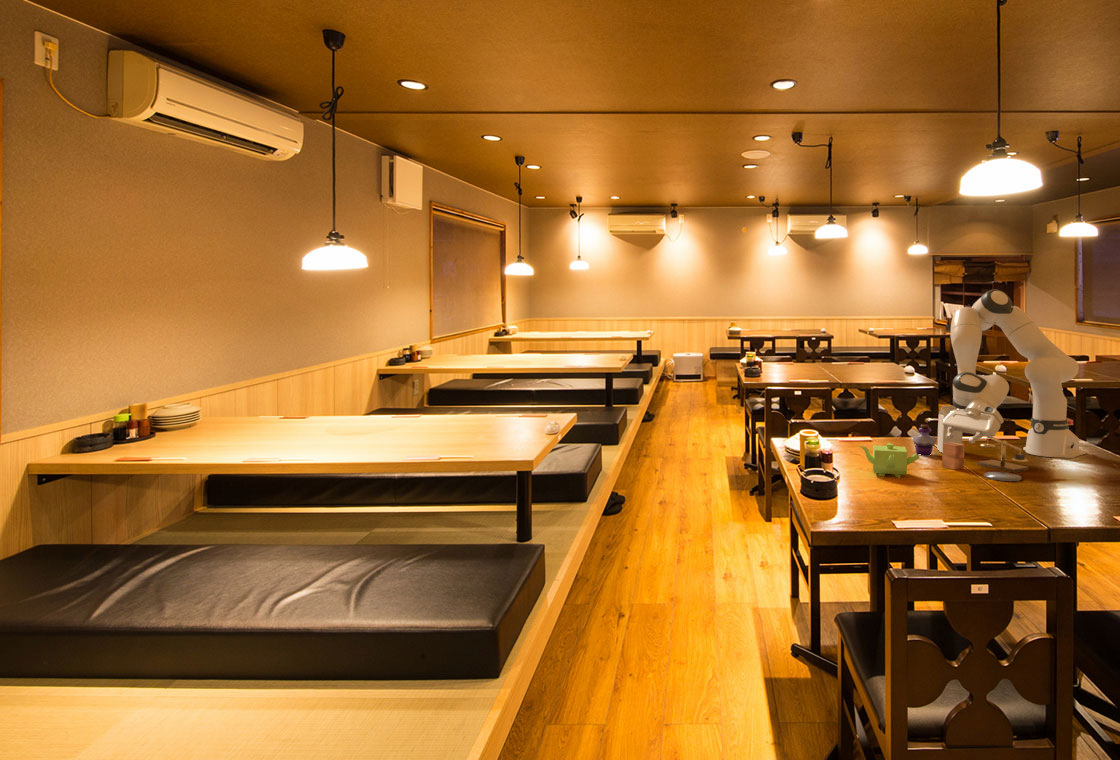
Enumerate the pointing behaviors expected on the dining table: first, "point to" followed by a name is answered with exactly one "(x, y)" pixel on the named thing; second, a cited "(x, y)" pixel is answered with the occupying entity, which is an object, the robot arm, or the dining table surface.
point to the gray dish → (1002, 476)
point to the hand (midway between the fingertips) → (959, 440)
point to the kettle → (889, 459)
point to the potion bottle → (924, 441)
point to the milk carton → (943, 431)
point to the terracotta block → (953, 455)
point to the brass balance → (1002, 463)
